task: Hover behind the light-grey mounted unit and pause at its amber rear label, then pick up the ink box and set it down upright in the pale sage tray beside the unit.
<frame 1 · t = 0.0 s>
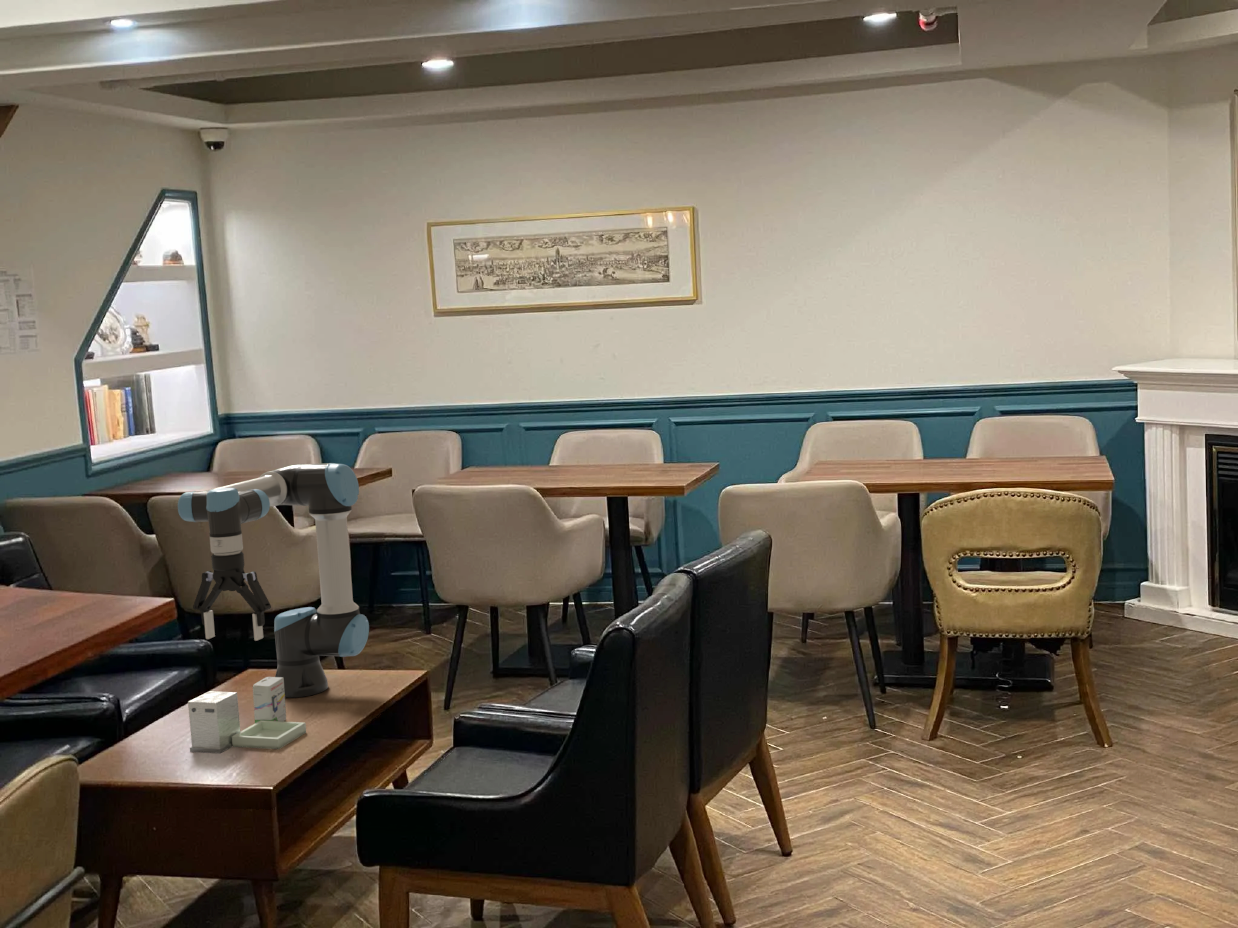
hand: (234, 638, 320), 28 cm above the table, fingers open, 13 cm apart
tray: (269, 739, 330), on the table
unit: (217, 745, 327), on the table
ink box: (271, 725, 342), on the table
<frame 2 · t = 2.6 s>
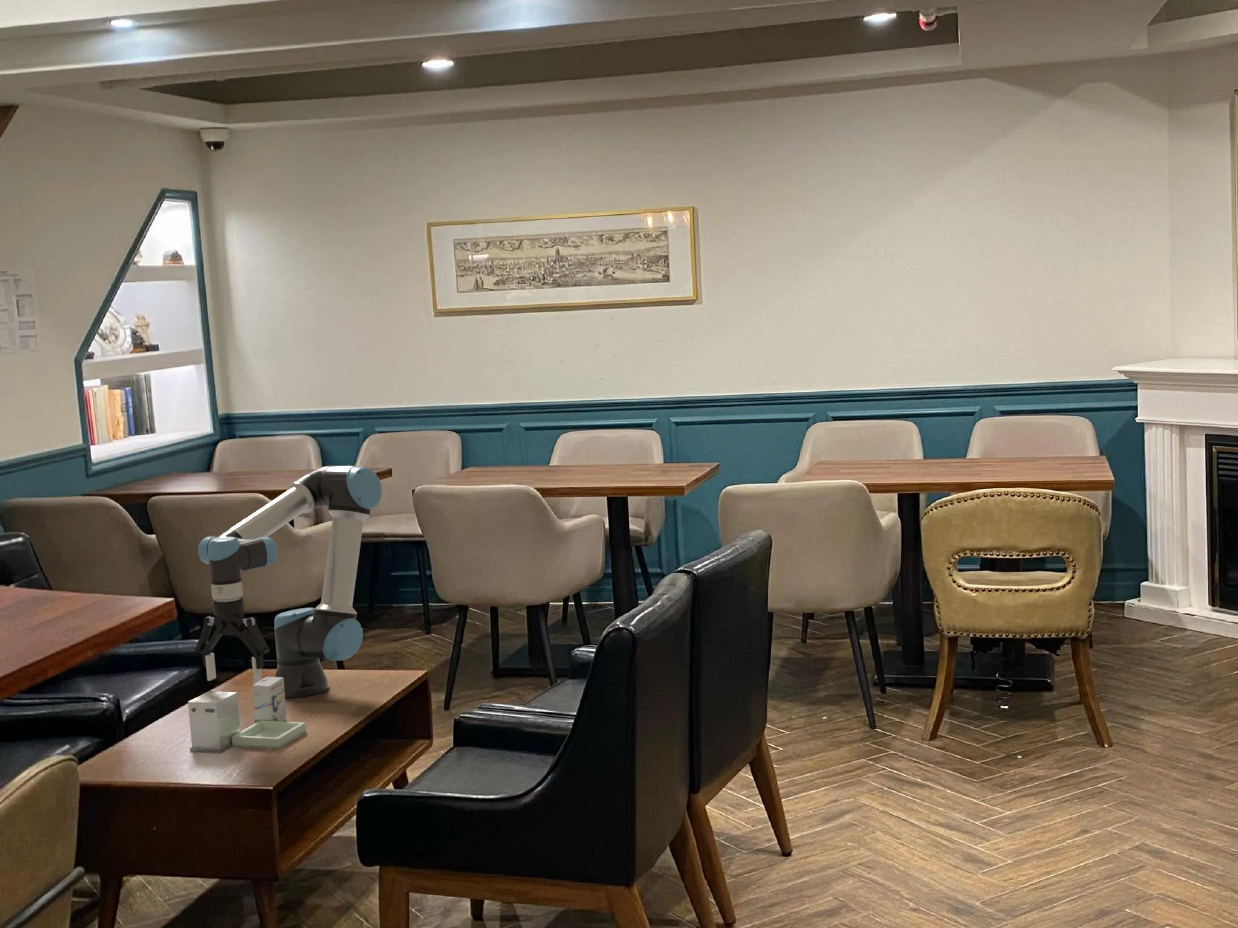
hand: (234, 680, 336), 14 cm above the table, fingers open, 13 cm apart
nothing on the table moved.
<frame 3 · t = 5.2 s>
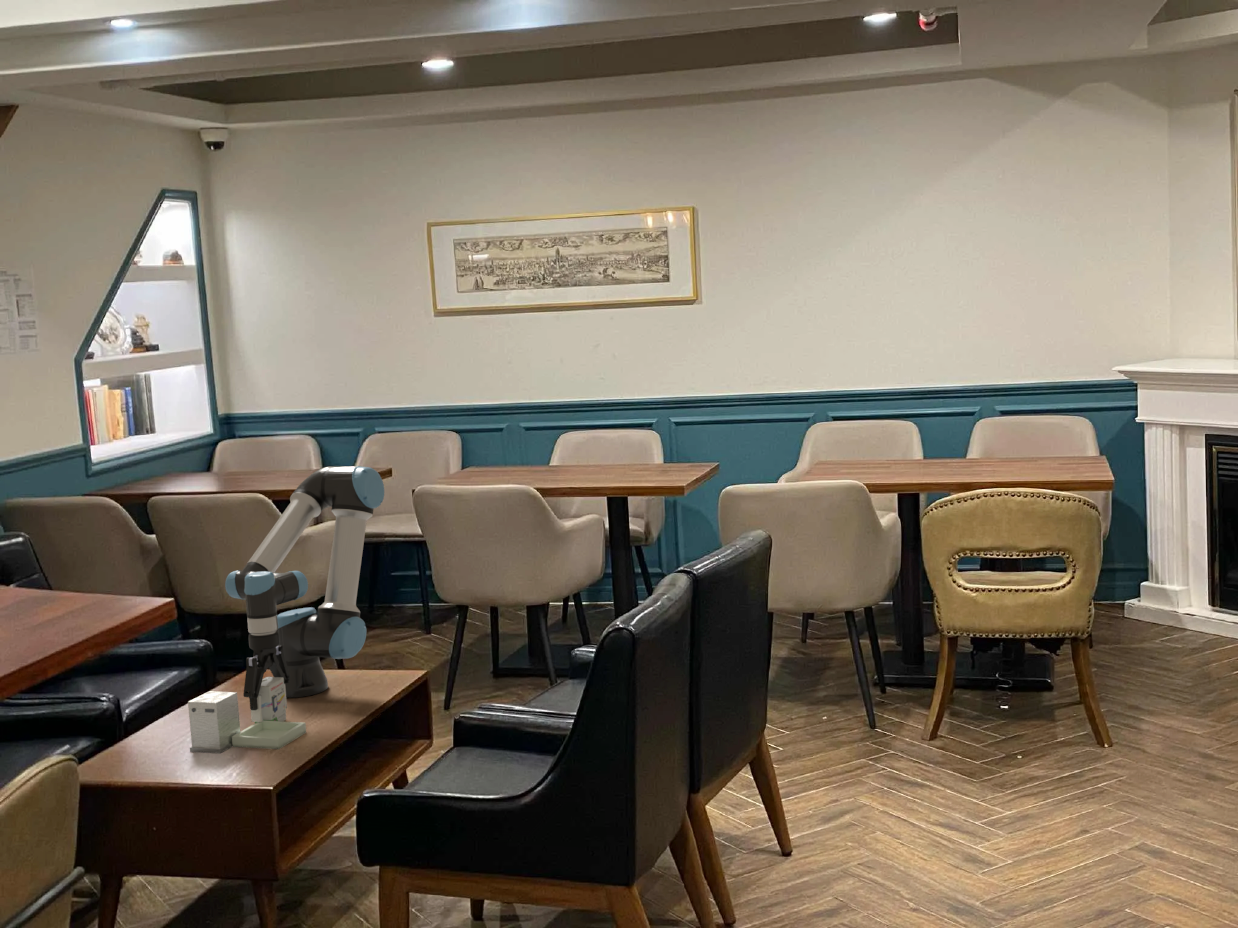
hand: (269, 714, 342), 3 cm above the table, fingers open, 11 cm apart
nothing on the table moved.
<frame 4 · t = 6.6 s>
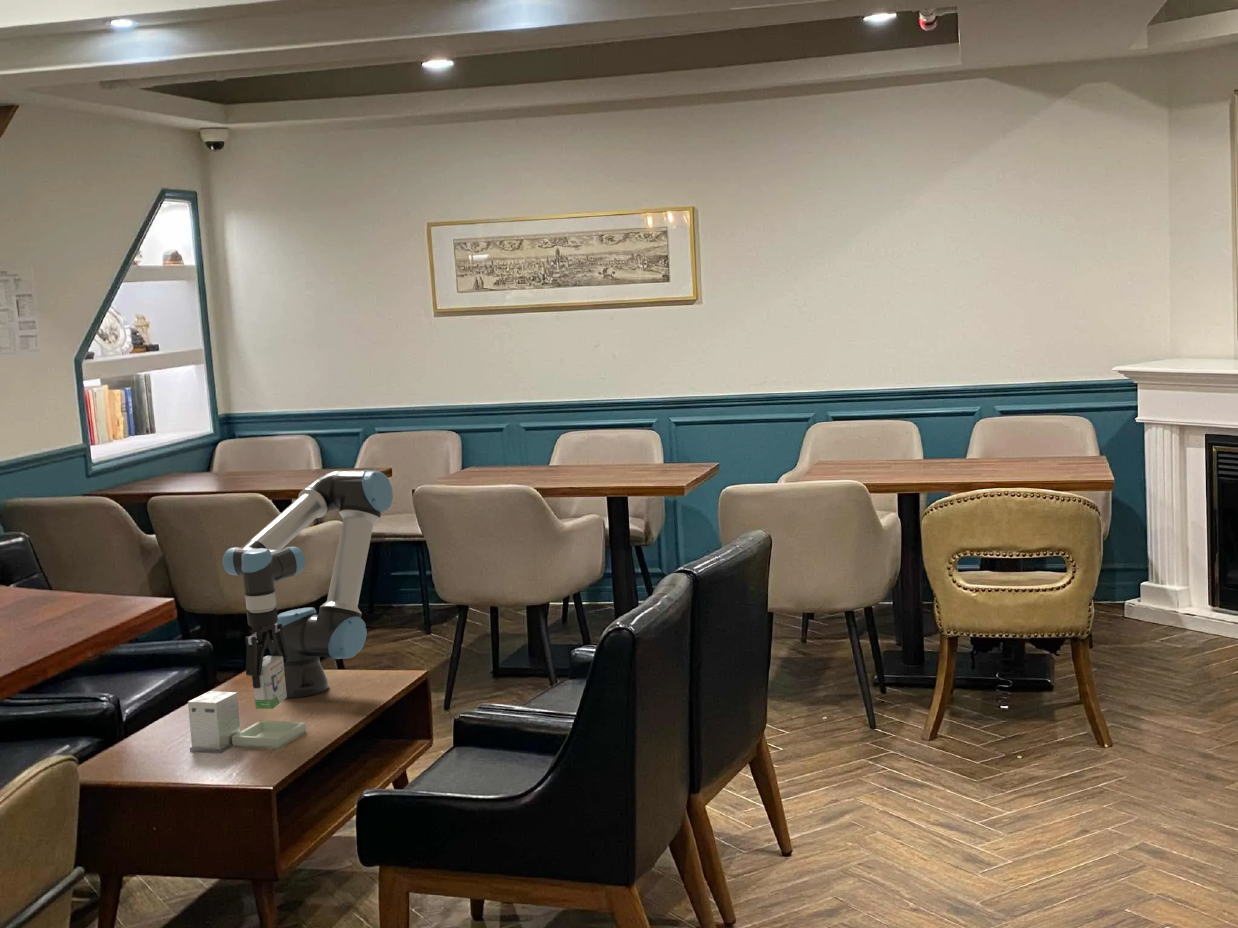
hand: (270, 693, 342), 8 cm above the table, fingers closed on ink box, 9 cm apart
ink box: (271, 704, 342), point 5 cm above the table, touching gripper
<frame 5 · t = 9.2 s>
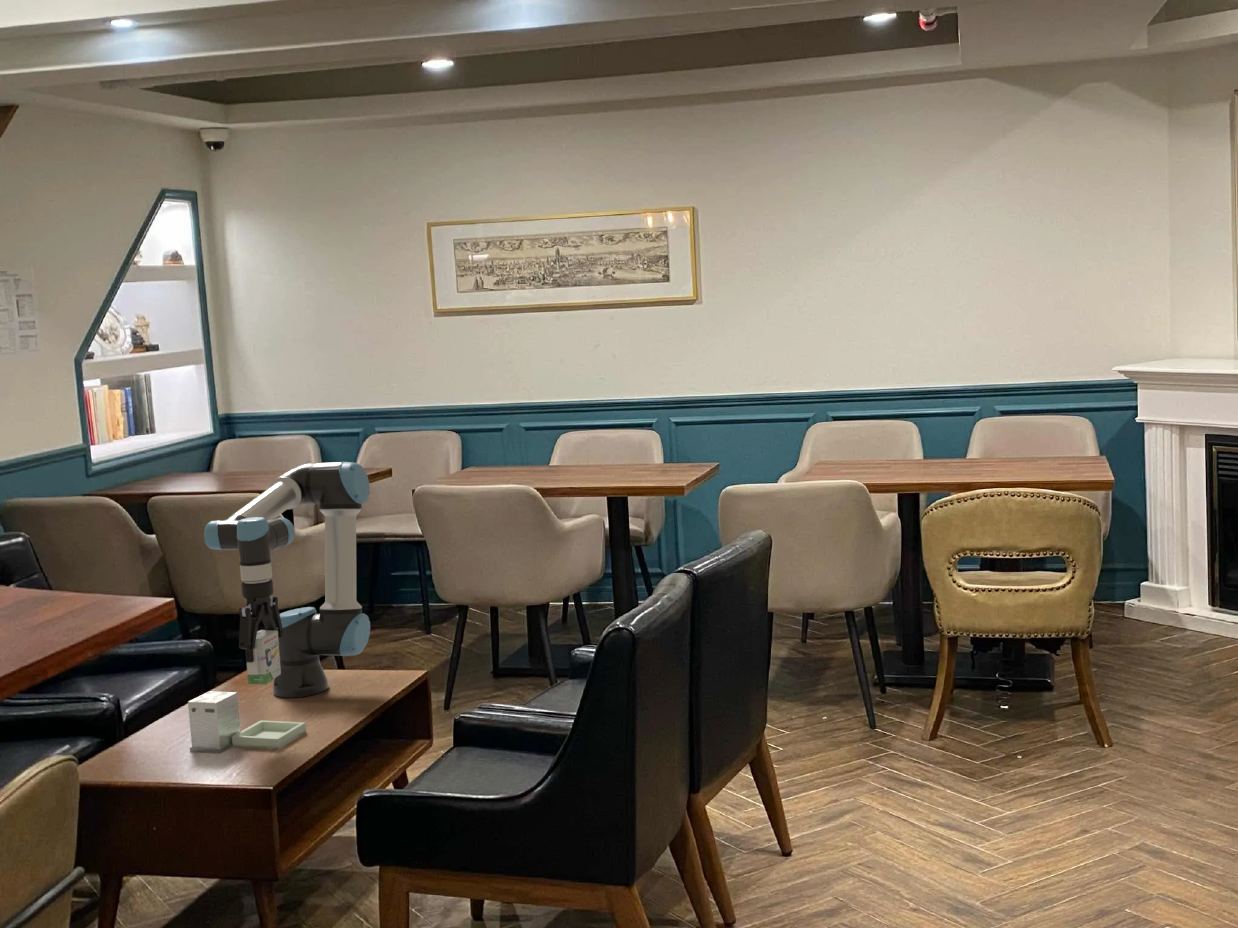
hand: (263, 668, 328), 18 cm above the table, fingers closed on ink box, 9 cm apart
ink box: (265, 680, 328), point 15 cm above the table, touching gripper
when the fingers open (4 cm above the table, at t = 12.0 s): ink box moves 1 cm, resting on tray.
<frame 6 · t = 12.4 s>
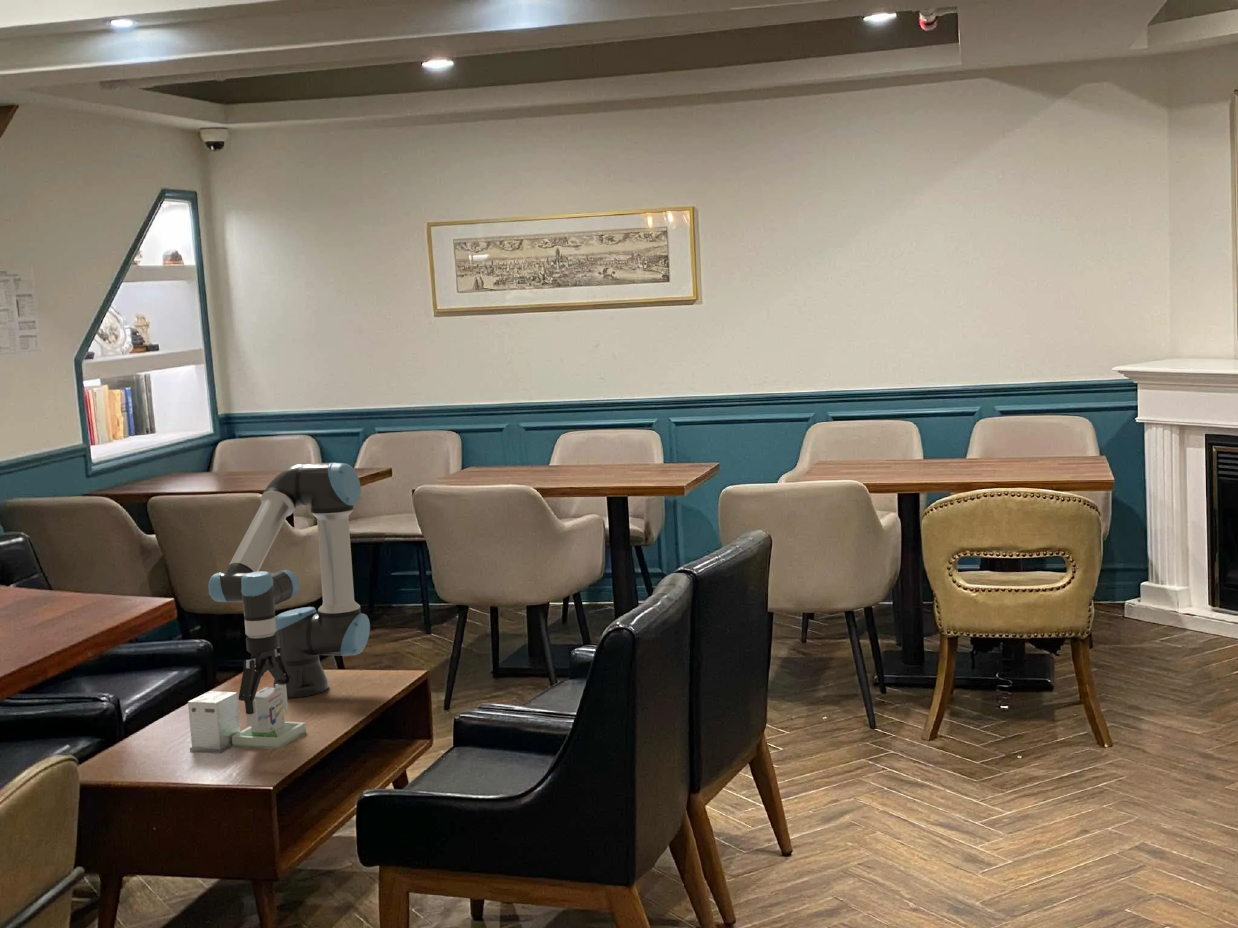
hand: (268, 717, 329), 6 cm above the table, fingers open, 13 cm apart
ink box: (269, 738, 330), resting on tray
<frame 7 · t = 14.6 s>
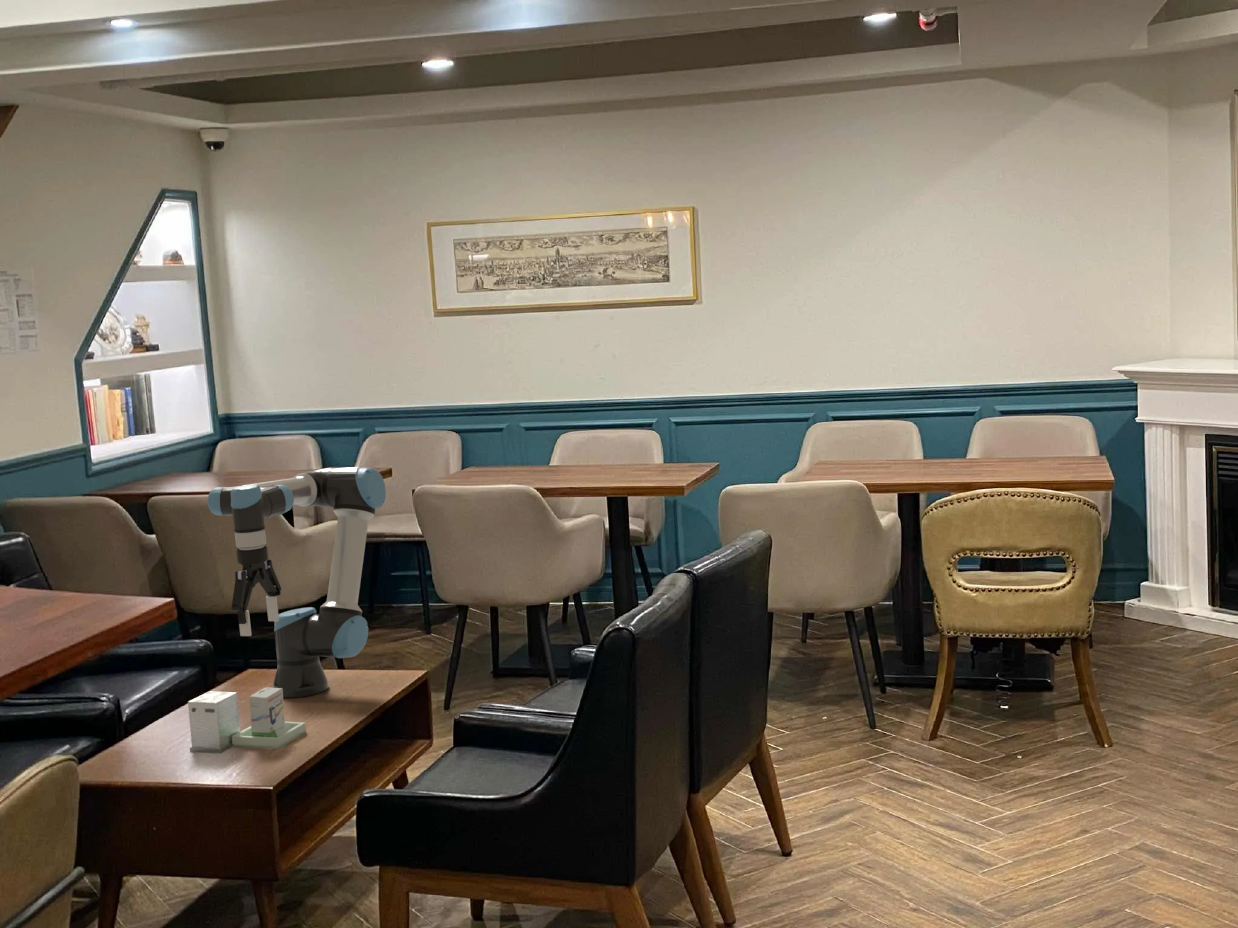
hand: (260, 628, 335), 27 cm above the table, fingers open, 13 cm apart
nothing on the table moved.
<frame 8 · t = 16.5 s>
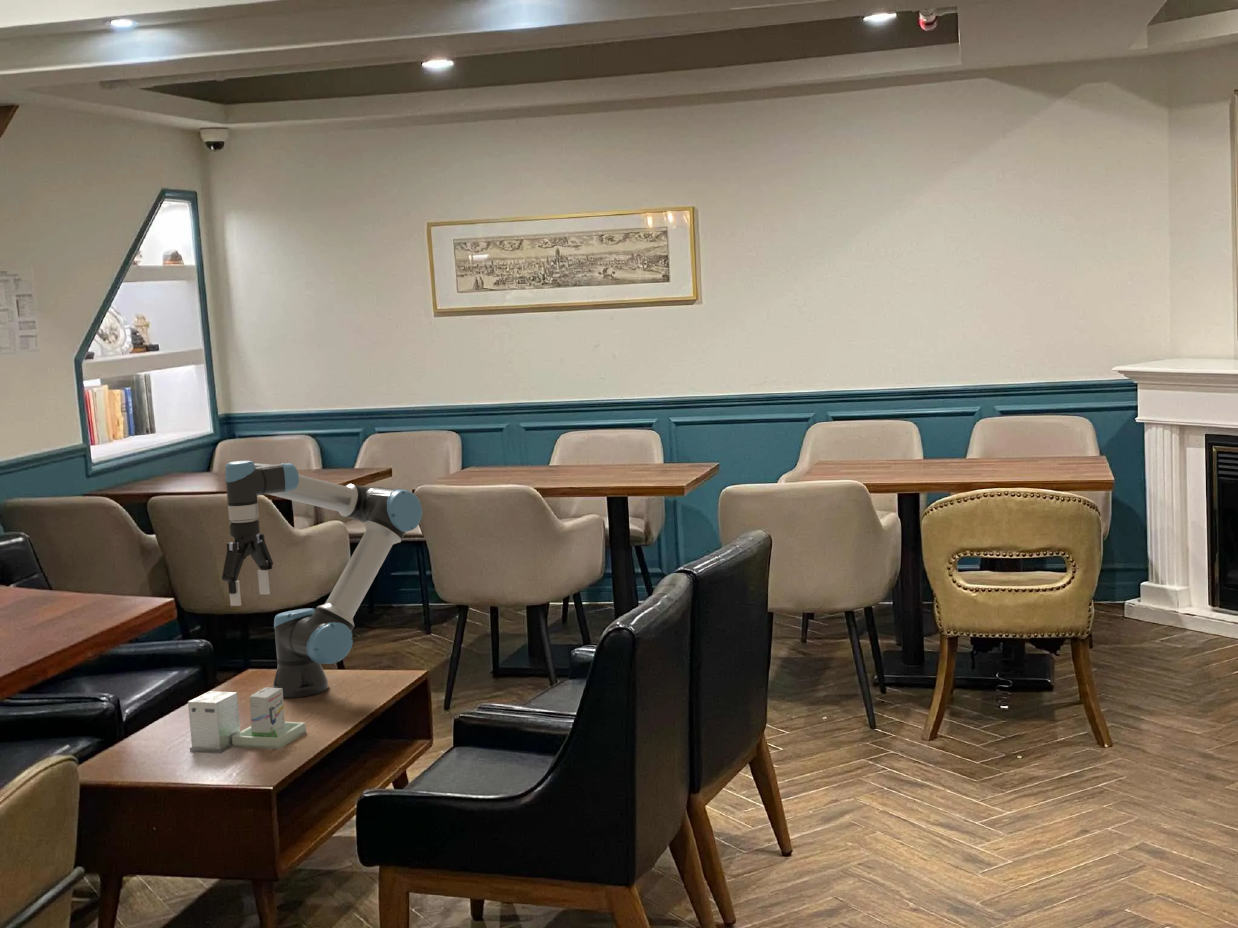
hand: (250, 599, 346), 32 cm above the table, fingers open, 13 cm apart
nothing on the table moved.
at the end: ink box inside the target area on the tray (0.2 cm from its centre), point 0.4 cm above the tray's base; ink box tilted 0°; the gripper is holding nothing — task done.
